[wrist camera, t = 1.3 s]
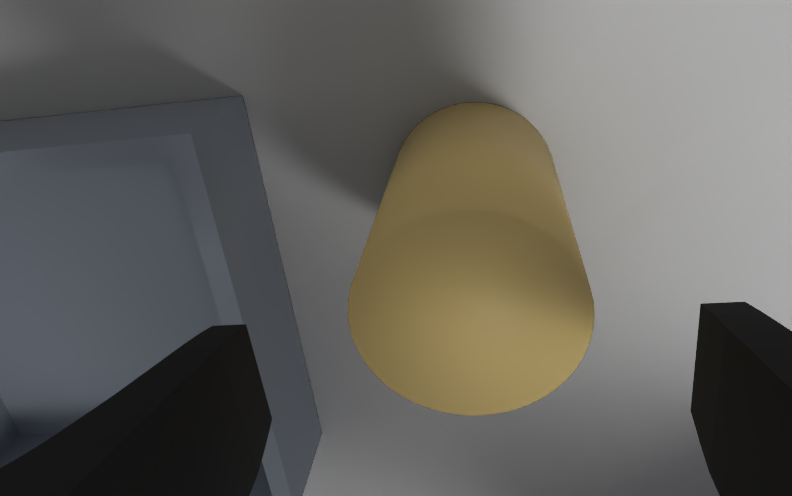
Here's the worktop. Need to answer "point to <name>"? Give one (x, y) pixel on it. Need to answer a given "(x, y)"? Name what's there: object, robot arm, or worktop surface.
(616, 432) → the worktop surface
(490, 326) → the peg
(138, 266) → the bin
